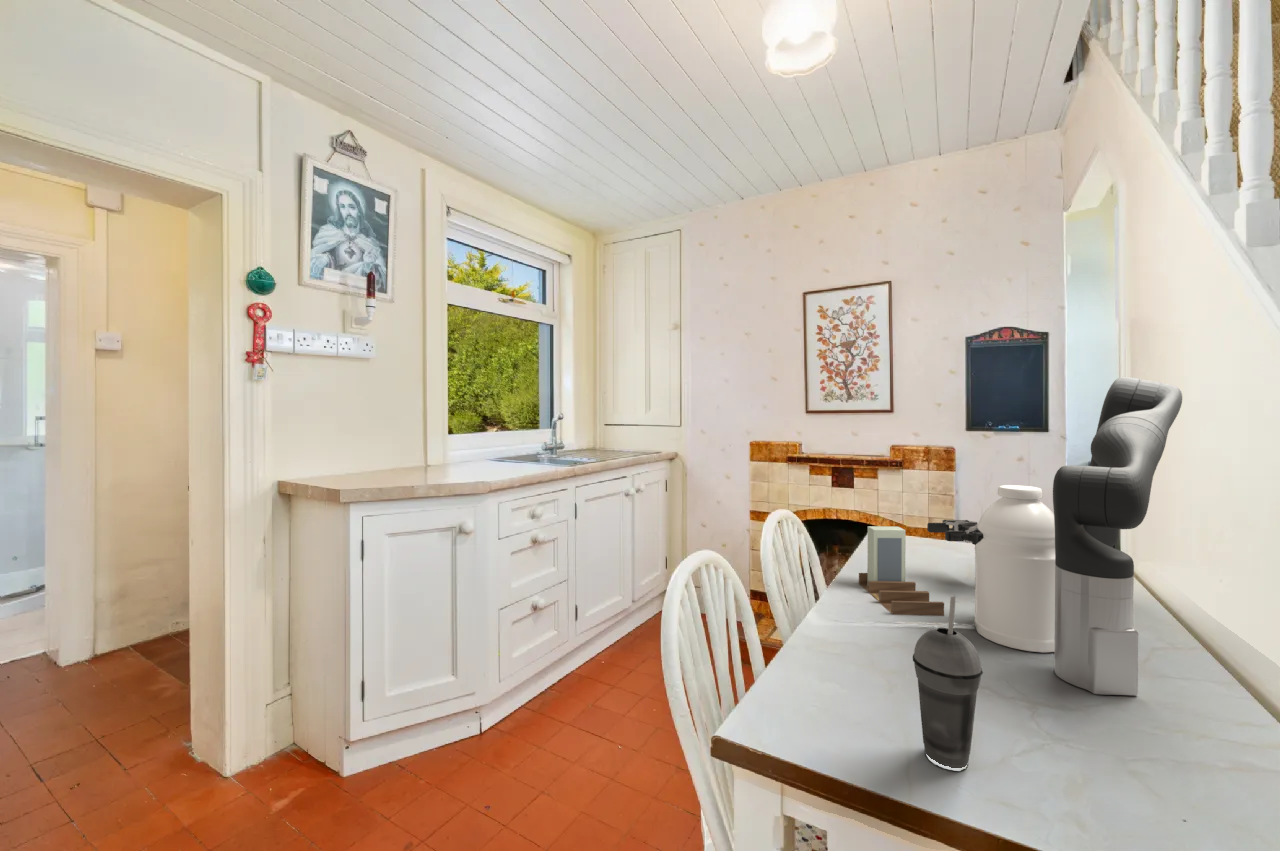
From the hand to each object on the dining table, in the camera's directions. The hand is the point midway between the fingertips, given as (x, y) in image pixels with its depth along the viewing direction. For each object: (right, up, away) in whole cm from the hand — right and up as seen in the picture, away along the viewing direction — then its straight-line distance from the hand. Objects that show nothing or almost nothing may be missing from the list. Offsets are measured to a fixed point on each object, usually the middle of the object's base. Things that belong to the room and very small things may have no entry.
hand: (936, 531), depth 122 cm
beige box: (-11, -13, +1) cm, 18 cm away
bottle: (+2, -15, -24) cm, 28 cm away
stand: (-12, -15, -6) cm, 20 cm away
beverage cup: (-32, -16, -58) cm, 68 cm away
